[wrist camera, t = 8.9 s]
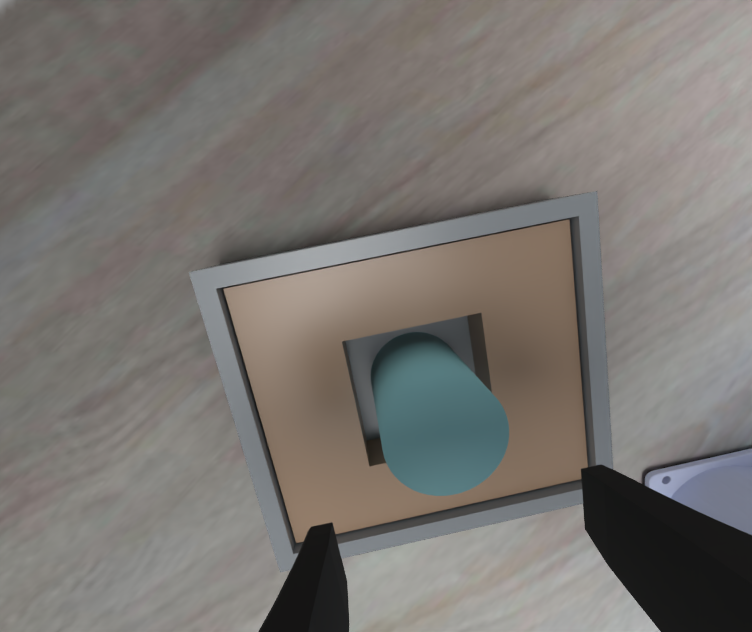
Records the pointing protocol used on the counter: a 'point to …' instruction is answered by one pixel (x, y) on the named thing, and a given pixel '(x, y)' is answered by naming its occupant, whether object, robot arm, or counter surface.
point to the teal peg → (435, 416)
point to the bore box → (400, 316)
